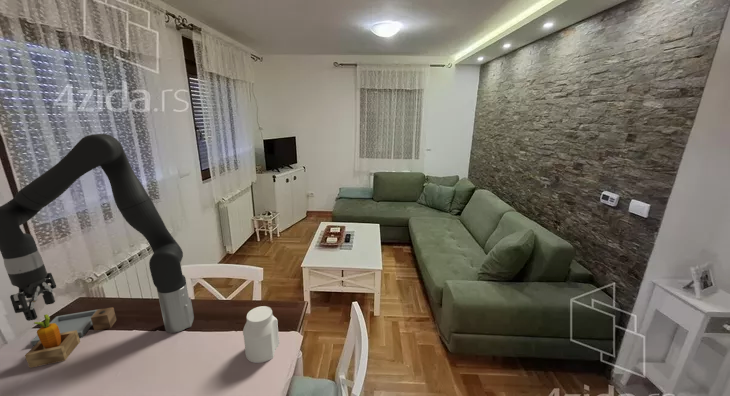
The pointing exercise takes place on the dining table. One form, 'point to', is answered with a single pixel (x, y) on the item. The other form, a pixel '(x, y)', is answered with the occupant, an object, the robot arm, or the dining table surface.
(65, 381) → the dining table surface
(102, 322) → the walnut block
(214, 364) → the dining table surface
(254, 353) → the jar
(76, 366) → the dining table surface
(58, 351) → the wooden crate
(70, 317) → the tray
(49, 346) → the carrot
